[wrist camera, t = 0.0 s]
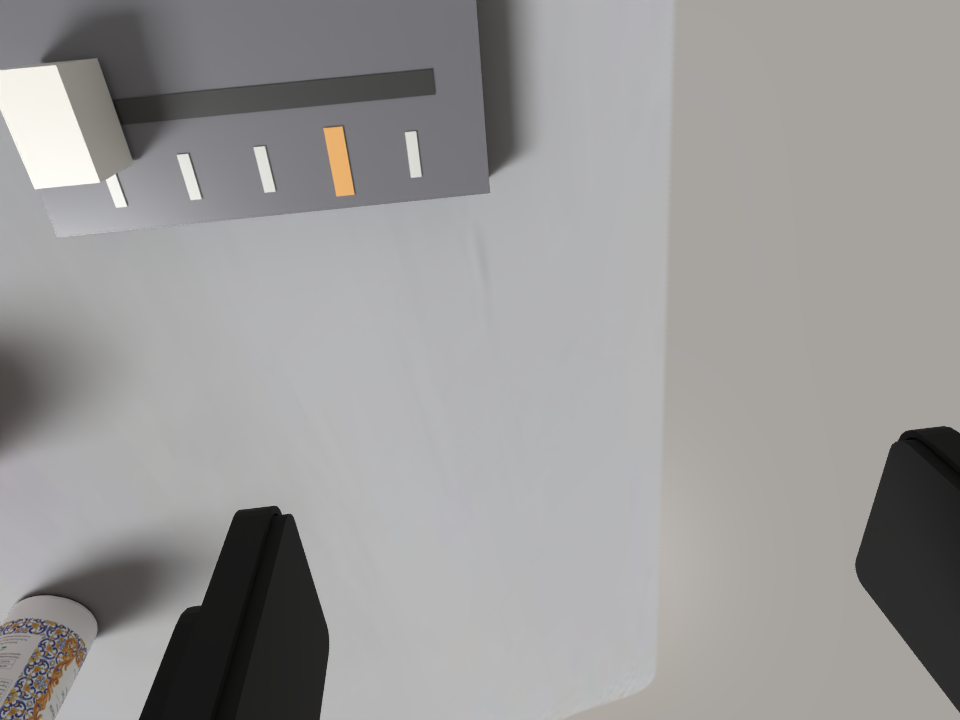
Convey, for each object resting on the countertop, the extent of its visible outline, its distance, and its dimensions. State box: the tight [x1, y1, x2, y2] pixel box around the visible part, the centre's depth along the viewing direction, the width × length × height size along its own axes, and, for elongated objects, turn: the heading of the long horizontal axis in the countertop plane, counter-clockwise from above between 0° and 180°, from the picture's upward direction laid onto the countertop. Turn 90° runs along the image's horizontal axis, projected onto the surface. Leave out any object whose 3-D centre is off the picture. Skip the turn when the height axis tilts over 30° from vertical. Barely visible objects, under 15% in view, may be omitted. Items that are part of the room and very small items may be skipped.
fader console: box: [0, 0, 490, 237], centre depth 33 cm, size 12×24×3 cm, turn 95°
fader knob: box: [0, 58, 134, 189], centre depth 30 cm, size 5×3×4 cm, turn 4°
